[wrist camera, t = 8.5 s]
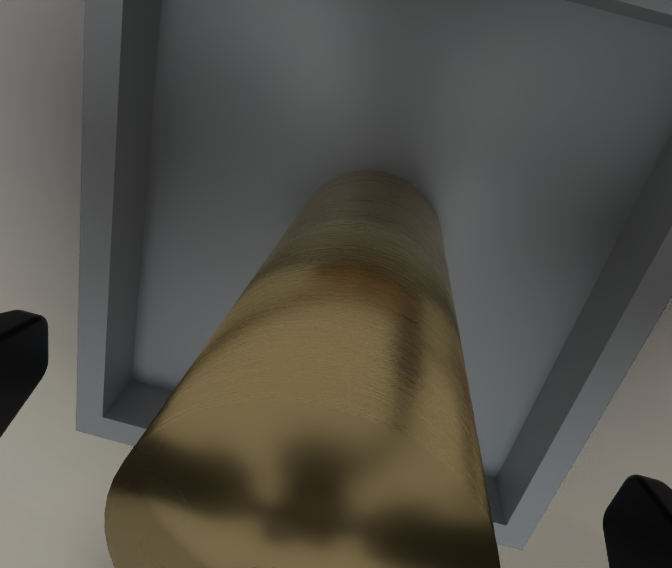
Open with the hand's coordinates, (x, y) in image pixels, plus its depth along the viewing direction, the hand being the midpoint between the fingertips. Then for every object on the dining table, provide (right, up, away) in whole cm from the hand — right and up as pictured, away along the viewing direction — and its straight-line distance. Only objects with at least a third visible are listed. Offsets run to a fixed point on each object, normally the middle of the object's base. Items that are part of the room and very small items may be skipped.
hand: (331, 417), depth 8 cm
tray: (+1, +3, +7) cm, 8 cm away
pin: (+1, +3, +6) cm, 7 cm away
